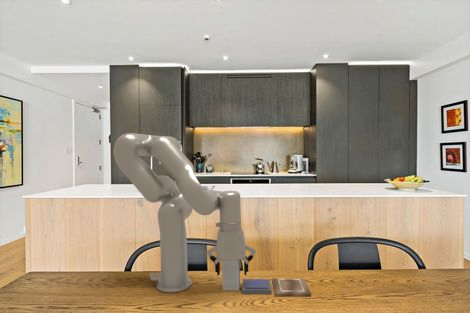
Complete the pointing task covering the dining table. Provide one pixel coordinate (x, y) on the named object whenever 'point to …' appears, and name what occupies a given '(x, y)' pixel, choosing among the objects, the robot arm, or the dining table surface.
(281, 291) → the marked board
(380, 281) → the dining table surface
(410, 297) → the dining table surface
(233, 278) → the skincare box
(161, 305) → the dining table surface
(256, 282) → the ink pad
